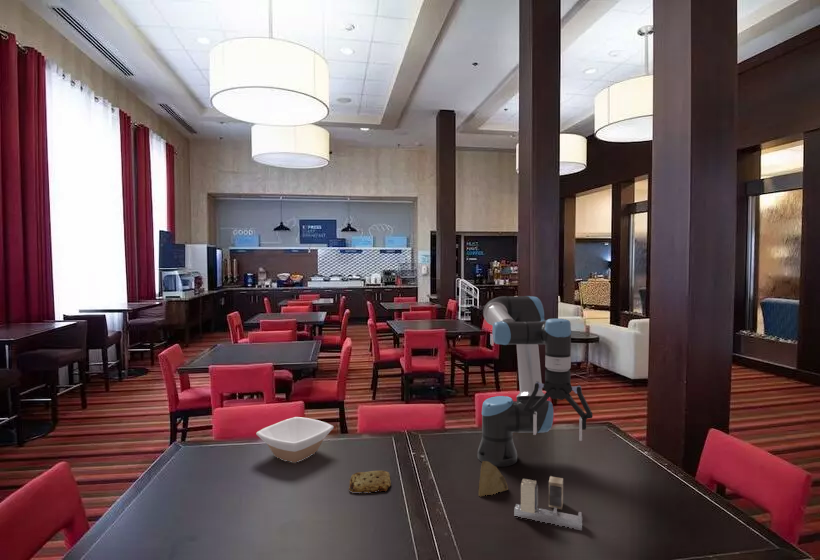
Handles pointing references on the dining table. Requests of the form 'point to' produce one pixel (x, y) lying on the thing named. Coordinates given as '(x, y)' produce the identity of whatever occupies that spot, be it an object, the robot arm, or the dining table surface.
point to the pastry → (370, 481)
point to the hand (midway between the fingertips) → (557, 436)
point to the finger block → (556, 492)
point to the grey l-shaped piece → (532, 512)
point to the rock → (491, 480)
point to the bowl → (295, 437)
